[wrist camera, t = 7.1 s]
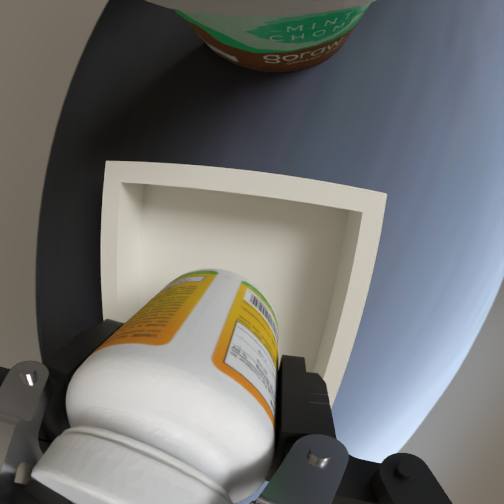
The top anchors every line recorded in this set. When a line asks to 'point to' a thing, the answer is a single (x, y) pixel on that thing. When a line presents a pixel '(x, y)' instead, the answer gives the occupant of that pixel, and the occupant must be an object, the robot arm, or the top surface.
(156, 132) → the top surface
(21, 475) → the robot arm
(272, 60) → the ice cream tub
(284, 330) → the tray
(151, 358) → the supplement bottle
